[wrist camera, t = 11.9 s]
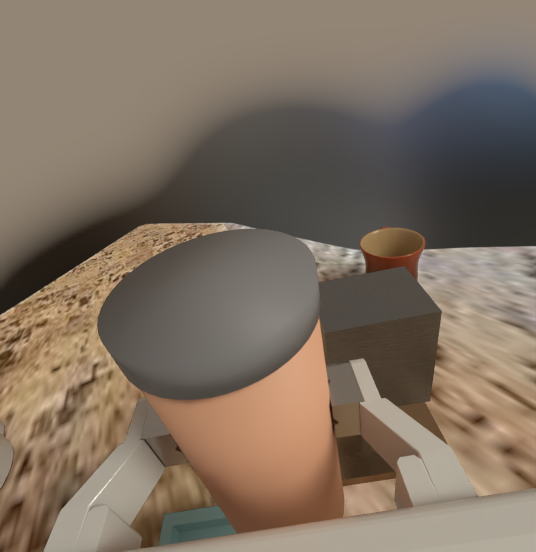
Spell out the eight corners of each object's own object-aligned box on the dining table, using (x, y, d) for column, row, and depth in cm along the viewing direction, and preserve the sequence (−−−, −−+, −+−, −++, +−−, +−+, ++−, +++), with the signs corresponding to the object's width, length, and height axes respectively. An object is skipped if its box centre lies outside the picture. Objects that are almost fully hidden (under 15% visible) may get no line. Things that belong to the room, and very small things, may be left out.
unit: (327, 488, 30) (300, 360, 20) (309, 397, 38) (284, 276, 29) (455, 468, 29) (491, 325, 19) (409, 380, 38) (417, 250, 28)
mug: (426, 315, 46) (432, 254, 40) (364, 317, 48) (361, 260, 42) (410, 269, 55) (413, 215, 50) (359, 273, 58) (356, 222, 52)
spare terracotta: (228, 581, 12) (51, 389, 6) (232, 446, 16) (136, 249, 10) (362, 562, 12) (343, 335, 5) (331, 430, 16) (299, 215, 10)
